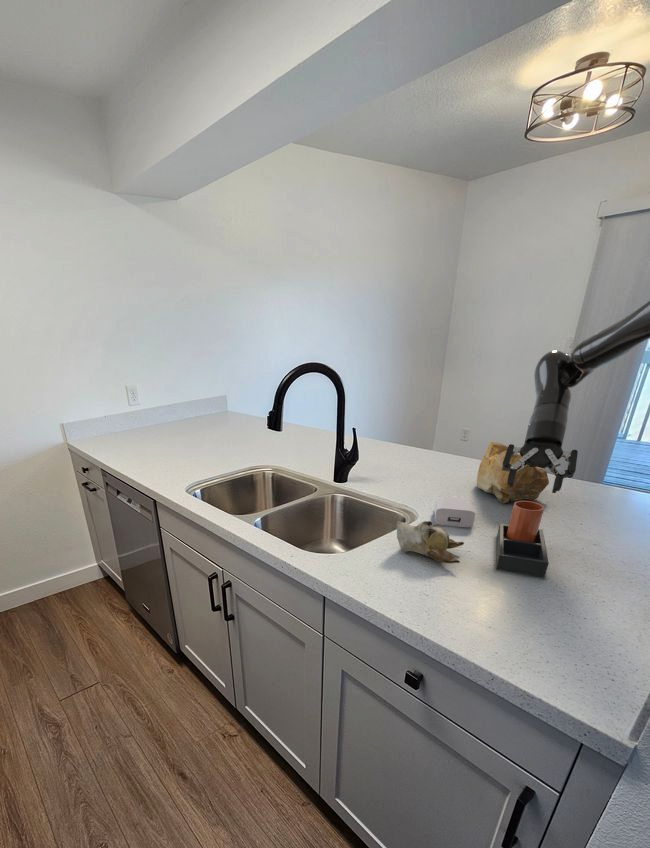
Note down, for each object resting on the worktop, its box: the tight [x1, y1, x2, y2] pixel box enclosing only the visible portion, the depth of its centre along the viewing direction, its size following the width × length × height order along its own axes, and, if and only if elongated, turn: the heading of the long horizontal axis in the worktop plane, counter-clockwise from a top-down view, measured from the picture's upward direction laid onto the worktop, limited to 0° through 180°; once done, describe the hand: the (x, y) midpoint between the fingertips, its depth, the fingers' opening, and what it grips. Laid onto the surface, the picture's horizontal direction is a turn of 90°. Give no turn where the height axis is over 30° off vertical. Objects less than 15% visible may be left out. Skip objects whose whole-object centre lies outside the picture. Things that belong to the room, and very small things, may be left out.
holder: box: [495, 523, 550, 579], centre depth 99 cm, size 9×17×4 cm, turn 152°
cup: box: [505, 500, 545, 543], centre depth 100 cm, size 6×6×10 cm
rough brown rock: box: [476, 441, 550, 504], centre depth 127 cm, size 23×17×15 cm
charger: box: [434, 495, 476, 528], centre depth 120 cm, size 5×9×15 cm
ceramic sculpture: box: [396, 520, 465, 564], centre depth 100 cm, size 11×9×15 cm
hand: (532, 488), depth 100 cm, fingers open, 8 cm apart
